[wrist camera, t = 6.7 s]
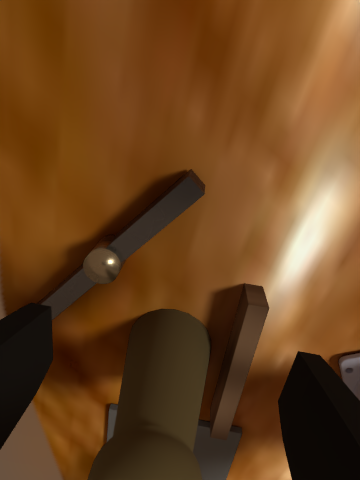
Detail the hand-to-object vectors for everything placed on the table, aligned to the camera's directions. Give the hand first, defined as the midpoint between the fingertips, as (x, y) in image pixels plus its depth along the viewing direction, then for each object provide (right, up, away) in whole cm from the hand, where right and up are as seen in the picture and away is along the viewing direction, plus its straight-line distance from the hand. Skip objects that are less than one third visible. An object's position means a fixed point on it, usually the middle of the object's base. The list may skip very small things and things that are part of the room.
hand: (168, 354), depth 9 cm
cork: (0, -4, +13) cm, 14 cm away
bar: (-6, +1, +11) cm, 12 cm away
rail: (+4, -5, +13) cm, 15 cm away
